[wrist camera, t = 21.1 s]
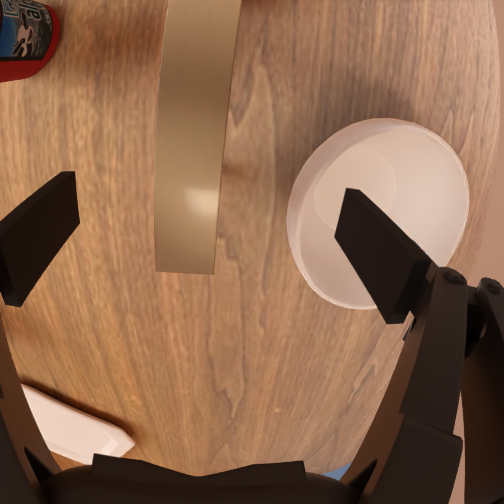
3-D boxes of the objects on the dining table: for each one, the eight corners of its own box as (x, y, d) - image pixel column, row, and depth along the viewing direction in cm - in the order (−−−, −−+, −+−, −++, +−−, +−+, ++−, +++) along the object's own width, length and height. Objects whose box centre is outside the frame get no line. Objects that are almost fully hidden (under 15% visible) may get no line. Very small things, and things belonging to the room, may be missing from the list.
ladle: (195, -44, 15) (178, -144, 3) (254, -40, 16) (294, -136, 4) (172, 172, 24) (132, 270, 12) (227, 175, 25) (238, 276, 13)
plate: (105, 463, 52) (104, 471, 50) (3, 417, 43) (0, 425, 41) (144, 427, 44) (143, 439, 42) (4, 363, 34) (-1, 374, 32)
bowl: (361, 280, 32) (391, 330, 25) (239, 219, 27) (248, 269, 20) (444, 168, 26) (495, 199, 20) (334, 72, 21) (380, 73, 15)
